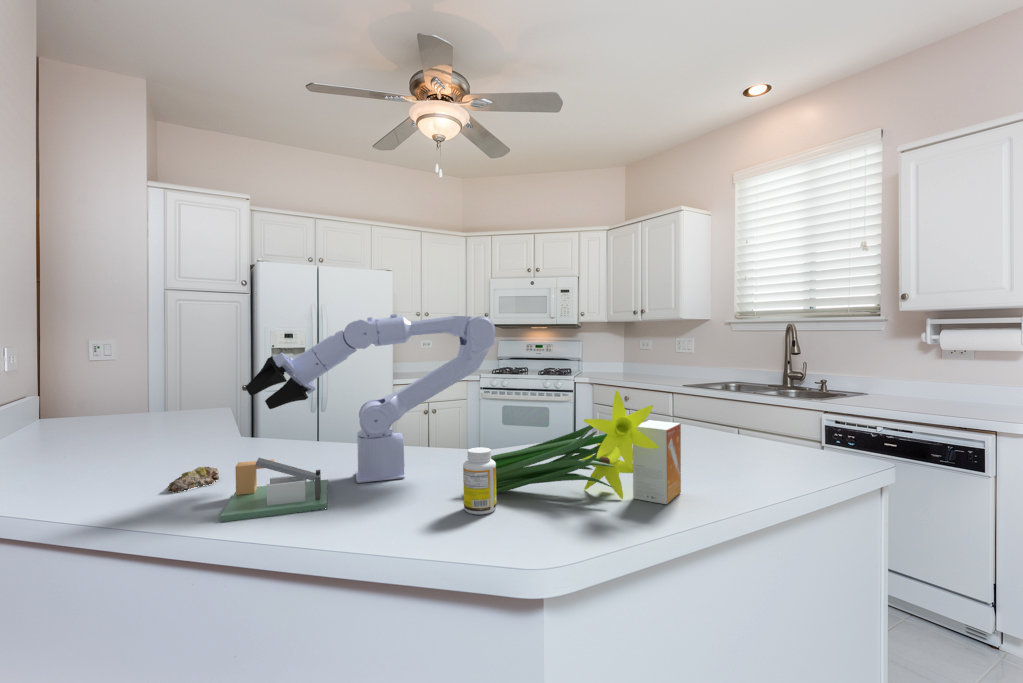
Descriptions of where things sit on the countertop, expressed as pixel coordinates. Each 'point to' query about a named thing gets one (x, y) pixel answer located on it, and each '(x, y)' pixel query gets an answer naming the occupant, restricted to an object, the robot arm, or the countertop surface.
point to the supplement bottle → (479, 482)
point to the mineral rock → (194, 479)
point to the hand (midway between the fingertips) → (258, 398)
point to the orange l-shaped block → (246, 477)
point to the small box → (658, 463)
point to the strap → (286, 469)
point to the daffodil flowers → (605, 460)
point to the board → (262, 510)
